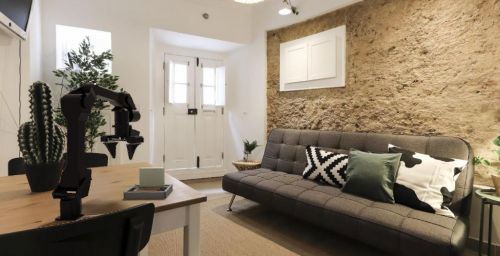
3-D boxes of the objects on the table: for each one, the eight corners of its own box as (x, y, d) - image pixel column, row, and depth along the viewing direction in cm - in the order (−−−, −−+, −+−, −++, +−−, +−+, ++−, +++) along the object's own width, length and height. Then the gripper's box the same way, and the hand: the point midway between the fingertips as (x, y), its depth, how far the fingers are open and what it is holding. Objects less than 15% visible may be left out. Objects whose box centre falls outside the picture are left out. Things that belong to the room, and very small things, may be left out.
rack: (165, 199, 103) (165, 191, 103) (123, 200, 102) (123, 192, 102) (172, 190, 115) (172, 184, 115) (135, 191, 114) (135, 184, 114)
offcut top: (156, 193, 105) (156, 190, 105) (133, 194, 104) (133, 191, 104) (159, 190, 110) (159, 187, 110) (137, 190, 109) (137, 187, 109)
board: (163, 191, 112) (163, 168, 111) (139, 191, 111) (139, 168, 111) (164, 190, 114) (164, 167, 113) (140, 190, 113) (140, 167, 112)
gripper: (152, 122, 117) (153, 157, 117) (120, 121, 123) (120, 155, 124) (133, 123, 106) (134, 161, 107) (99, 122, 113) (99, 158, 113)
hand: (122, 159), depth 113 cm, fingers open, 9 cm apart
